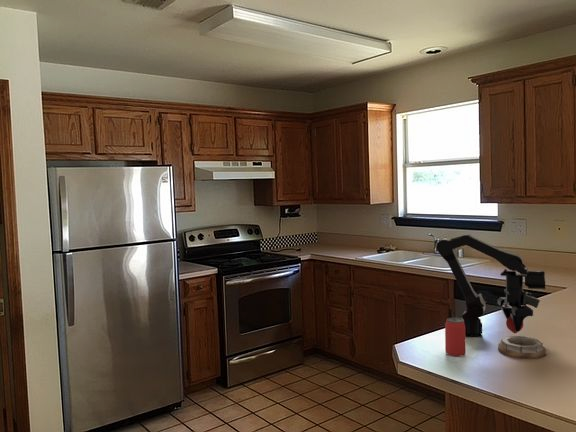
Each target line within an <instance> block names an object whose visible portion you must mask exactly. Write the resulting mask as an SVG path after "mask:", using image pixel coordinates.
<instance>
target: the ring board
mask: <svg viewBox="0 0 576 432" xmlns="http://www.w3.org/2000/svg"><path fill="white" fill-rule="evenodd" d="M497 350H498V352H499V353H501V354H503V355H505V356H508V357H512V358H517V359H526V360H533V359H536V360H537V359H541V358H544V357H546V356H547V349H546V347H545V346H544V343H543V342H542V341H541V340H539V339H537V338H534V337H528V336H524V335H523V336H521V335H508V336H505V337H503V338H501V339H500V342H499V343H498V344H497Z"/></svg>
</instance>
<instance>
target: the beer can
mask: <svg viewBox="0 0 576 432" xmlns="http://www.w3.org/2000/svg"><path fill="white" fill-rule="evenodd" d="M463 321H464V320H463V319H462V318H459V317H448V318H446V321H445V324H444V337H445V341H444V342H445V344H444V345H445V353H446V354H447V355H448V356H450V357H451V356H452V357H459V358H460V357H462V356H463V357H464V356H465V355H466V353H467V349H466V348H467V347H466V336H465V324H464V322H463Z"/></svg>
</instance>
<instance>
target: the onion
mask: <svg viewBox="0 0 576 432" xmlns="http://www.w3.org/2000/svg"><path fill="white" fill-rule="evenodd" d="M505 324H506V327H507V329H508V330H509V331H510V332H512V333H513V334H517V333H518V332H517V331H516V329H515V327H514V324H513V321H512V318H511V316H509V317H508V319H506V321H505ZM523 327H524V322H523V323H522V326H521V329H520V331H522V330H523Z"/></svg>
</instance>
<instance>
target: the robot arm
mask: <svg viewBox="0 0 576 432" xmlns="http://www.w3.org/2000/svg"><path fill="white" fill-rule="evenodd" d="M435 246H436V250H437V252H438V254H440V256H441V257H442V258H443V260H445V262H446V263H447V264H448V266H449V268H450V270H451V272H452V274H453V277H454V279H455V280H456V283H457V285H458V286H459V288H460V290H461V292H462V294H463V296H464V302H465V305H466V309H465V310H464V312H463V313H462V315H461V319H463V320H464V321H463V322H464V324H465V338H466V337H467V338H468V337H469V338H470V337H471V338H472V337H483V322H482V319H481V318H479V317H481V316H483V315H484V312H485V310H486V303H487V302H486V301H485V299H484V298H483V294H482V293H479V294H478V293H477V292H476V291H475V290H474V288H473V287H472V284H471V282H470V280H469V278H468V276H467V274H466V272H465V270H464V269H463V268H464V267H463V266H462V264H461V263H460V260H459V258H458V255H457V254H458V253H457V249H458V248H461V247H464V246H467V247H469V248H472V249H474V250H476V251H478V252H481V253H482V254H484V255H486V256H489V257H490V258H492V259H494V260H496V261H497V262H499V263H500V264H501V265H502V266H504V267H505V268H504V270H503V271H501V273H500V276H501V277H505V288H504V289H503V291H504V293H505V297H502V296H501V297H500V296H499V298H498V299H497V305H498V306H500V310H501V311H502V313H503V315H504V318H505V319H506V320H507V319H508V317H509V316H511V318H512V321H513V324H514V327H515V329H516V331H517V333H519V332H520V331H521V330H522V329H521V326H522V323H523V324H524V320H525V318H528V317H533V316H534V310H533V309H532V308H531V307H534V308H535V309H538V307H539V303H540V301H541V300H540V299H538V298H537V297H534V296H533V294H532V293H531V292H528V291H524V287H527V288H528V290H546V278H545V275H546V273H545V272H546V271H545V270H529V269H528V267H527V266H526V265H525V264H524V259H523V257H522V256H521V255H520V254H518V253H514V252H512V251H508V250H503V249H500V248H498V247H496V246H494V245H491V244H489V243H487V242H485V241H483V240H481V239H479V238H477V237H474V236H472V235H471V234H469V233H465V234H462V235H460V236H457V237H453V238H448V237H445V238H442V239H441V240H439V241H438V242H437V243H436V245H435ZM517 272H518V273H517ZM529 306H531V307H529ZM520 329H521V330H520Z"/></svg>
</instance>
